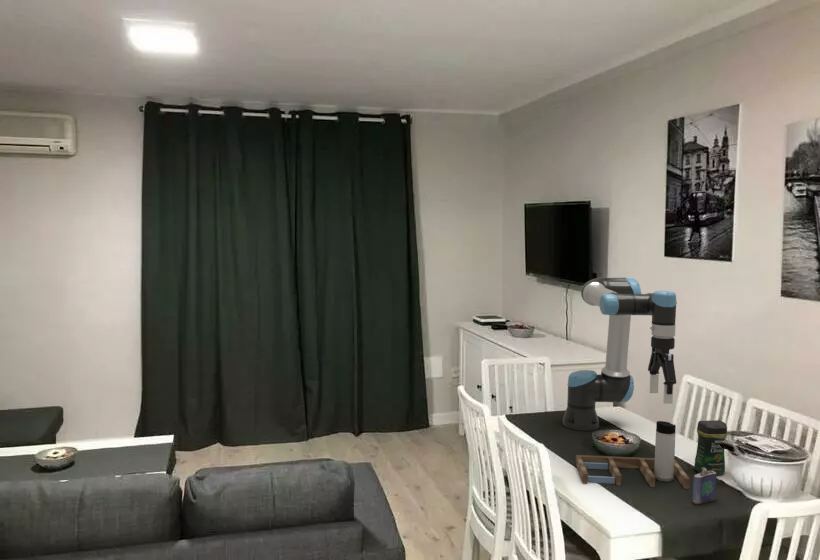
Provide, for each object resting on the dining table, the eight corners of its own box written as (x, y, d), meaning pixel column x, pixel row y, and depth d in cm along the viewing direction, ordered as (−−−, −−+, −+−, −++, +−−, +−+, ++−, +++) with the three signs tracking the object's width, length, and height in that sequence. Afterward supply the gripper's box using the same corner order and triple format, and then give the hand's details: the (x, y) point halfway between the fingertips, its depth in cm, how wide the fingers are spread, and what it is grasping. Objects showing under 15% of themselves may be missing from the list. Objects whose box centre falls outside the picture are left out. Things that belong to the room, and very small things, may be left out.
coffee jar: (703, 476, 231) (705, 424, 230) (690, 468, 239) (693, 417, 237) (729, 475, 233) (732, 423, 231) (716, 467, 240) (718, 416, 239)
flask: (697, 505, 209) (698, 472, 208) (689, 501, 212) (690, 469, 210) (717, 499, 213) (719, 467, 212) (709, 496, 216) (711, 464, 215)
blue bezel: (581, 467, 239) (581, 461, 239) (607, 468, 238) (607, 463, 238) (587, 482, 226) (587, 476, 226) (614, 483, 225) (615, 478, 225)
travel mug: (649, 476, 231) (651, 420, 229) (663, 473, 234) (666, 418, 232) (662, 483, 226) (665, 425, 224) (677, 480, 228) (680, 423, 226)
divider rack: (575, 464, 242) (576, 454, 242) (674, 468, 239) (674, 459, 238) (582, 483, 225) (583, 473, 225) (689, 488, 221) (689, 478, 221)
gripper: (639, 330, 239) (637, 388, 241) (665, 343, 214) (662, 407, 216) (661, 330, 239) (658, 389, 240) (688, 343, 214) (686, 408, 216)
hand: (660, 398), depth 228 cm, fingers open, 13 cm apart
